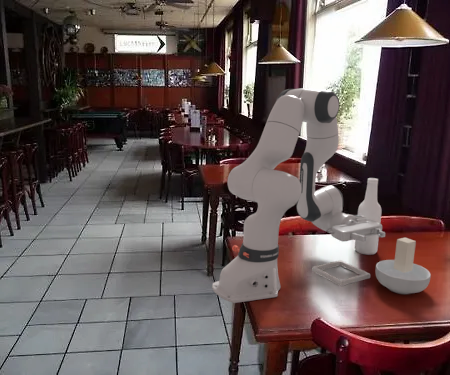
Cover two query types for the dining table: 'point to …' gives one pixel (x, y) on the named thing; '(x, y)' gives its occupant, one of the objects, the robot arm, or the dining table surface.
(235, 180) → the robot arm
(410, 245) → the stone block
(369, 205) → the alcohol
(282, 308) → the dining table surface
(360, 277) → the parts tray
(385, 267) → the cereal bowl
